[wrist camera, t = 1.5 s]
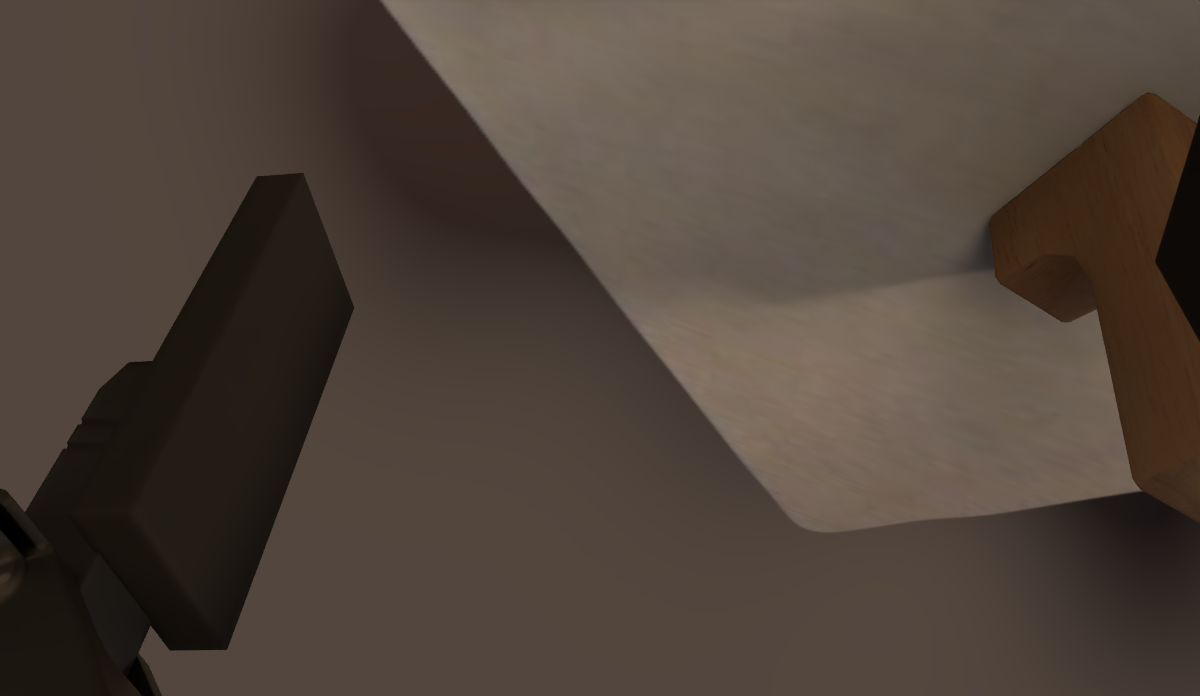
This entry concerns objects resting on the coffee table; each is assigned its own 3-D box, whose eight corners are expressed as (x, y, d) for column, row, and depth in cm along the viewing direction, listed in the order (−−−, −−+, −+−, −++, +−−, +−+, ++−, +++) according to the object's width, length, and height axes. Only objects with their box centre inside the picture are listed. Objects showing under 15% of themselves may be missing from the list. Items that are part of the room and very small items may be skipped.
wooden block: (1054, 262, 49) (1112, 589, 37) (984, 217, 48) (1021, 541, 36) (1223, 139, 43) (1359, 486, 31) (1148, 85, 42) (1258, 424, 30)
